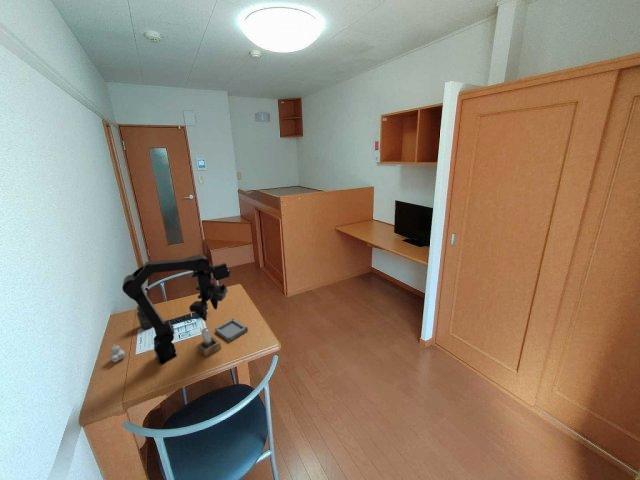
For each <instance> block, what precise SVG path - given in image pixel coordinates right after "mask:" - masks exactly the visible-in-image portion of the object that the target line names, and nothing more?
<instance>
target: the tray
mask: <svg viewBox="0 0 640 480" xmlns="http://www.w3.org/2000/svg"><path fill="white" fill-rule="evenodd" d="M214 331H215V333H216V334H217V335H219V336H220V337H222V338H223V339H224V340H226V341H227V342H229V343H230V342H232V341H234V340H235V339H237V338H239V337H240V336H242V335H244V334H245V333H246V332H248V327H247V326H246V325H245V324H243V323H241V322H239V321H238V320H236V319H235V318H232V319H230V320H228V321H227V322H225V323H223V324H221V325H219V326H217V327H216V328H214Z"/></svg>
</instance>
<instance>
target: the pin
mask: <svg viewBox="0 0 640 480" xmlns="http://www.w3.org/2000/svg"><path fill="white" fill-rule="evenodd" d="M201 335H202V340H203V341H204V344H205V349H207V348H209V347H211V346H212V345H213V343H212V339H211V337H212V336H211V331H210V328H209V327H205V328H203V329H202V330H201Z"/></svg>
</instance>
